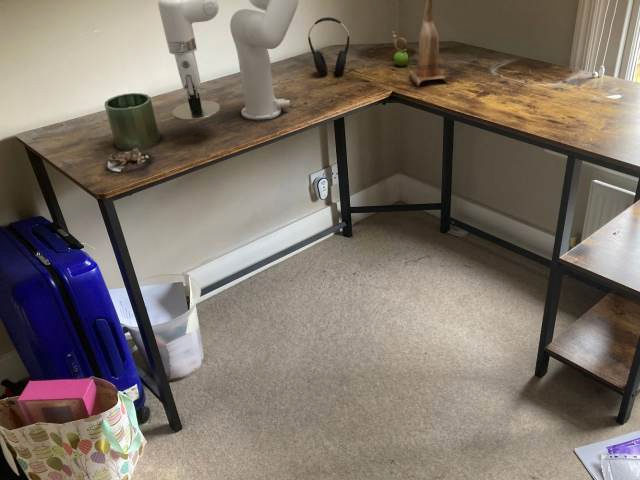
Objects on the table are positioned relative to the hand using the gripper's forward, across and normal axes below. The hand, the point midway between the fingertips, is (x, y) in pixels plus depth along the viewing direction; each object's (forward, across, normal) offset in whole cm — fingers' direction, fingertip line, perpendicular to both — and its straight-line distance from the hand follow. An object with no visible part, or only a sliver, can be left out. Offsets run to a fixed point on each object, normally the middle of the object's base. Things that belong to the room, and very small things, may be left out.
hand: (196, 108), depth 190 cm
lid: (+1, 0, 0) cm, 1 cm away
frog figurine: (+9, -12, +21) cm, 26 cm away
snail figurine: (+12, +46, -75) cm, 89 cm away
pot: (+9, +2, +19) cm, 21 cm away
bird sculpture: (+12, +26, -80) cm, 85 cm away
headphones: (+11, +44, -48) cm, 66 cm away
